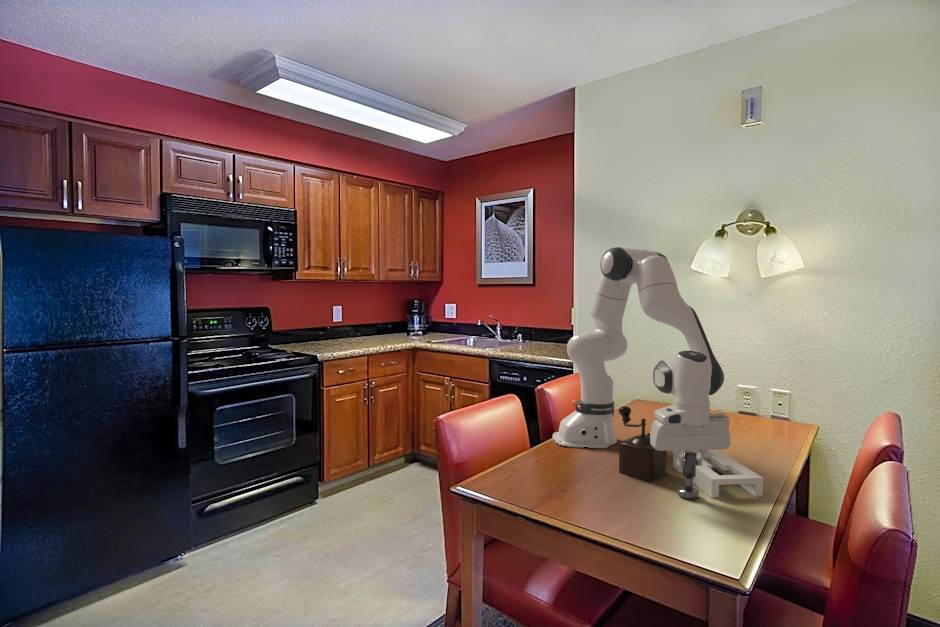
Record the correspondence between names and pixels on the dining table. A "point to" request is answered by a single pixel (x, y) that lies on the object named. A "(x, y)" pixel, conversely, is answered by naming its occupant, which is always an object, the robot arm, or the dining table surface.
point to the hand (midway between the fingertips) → (689, 465)
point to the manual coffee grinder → (640, 453)
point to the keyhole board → (730, 471)
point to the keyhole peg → (689, 476)
